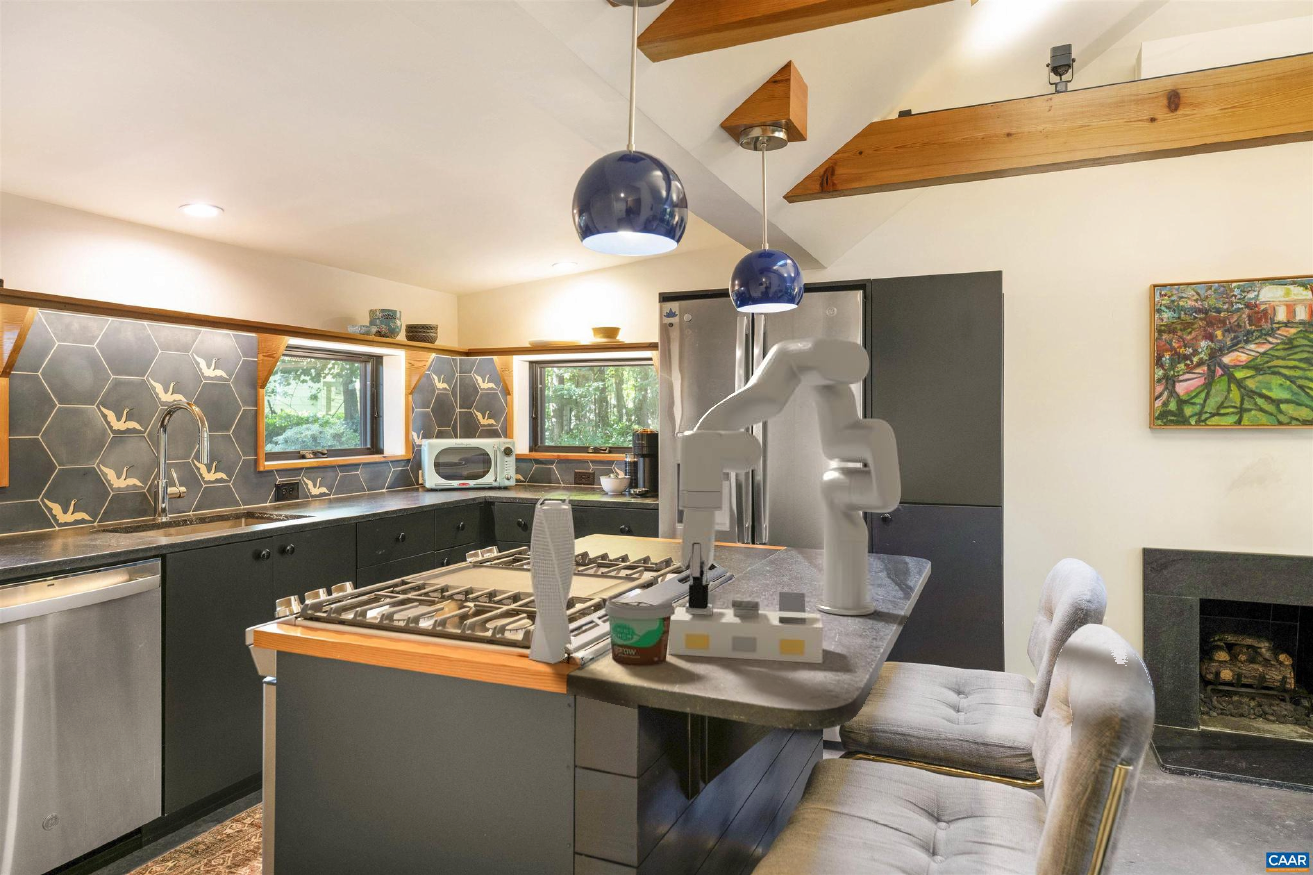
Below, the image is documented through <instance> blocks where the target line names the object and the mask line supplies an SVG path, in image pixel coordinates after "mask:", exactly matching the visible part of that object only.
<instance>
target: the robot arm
mask: <svg viewBox="0 0 1313 875" xmlns="http://www.w3.org/2000/svg"><path fill="white" fill-rule="evenodd" d="M869 358H870V357H869V355H868V352H867V350H866V349H865V347H864V346H862V345H861V344H860V343H858V342H855V341H850V340H843V339H837V338H832V337H831V338H830V337H823V336H821V337H820V336H817V337H804V338H797V339H796V338H795V339H788V340H782V341H780V342H778V343H776V344H774V345H773V346H772V347H771V349H769V351H768V353H767V354H766V356H764V359H762V362H761V363H760V365H758V368H757V369H756V371H755V372H754V373H753V375H752V376H751V377H750V379H749V380H748V382H747V383H746V384H745V385H744V387H742V388H741V389H738V390H737V391H735V392H734V393H732V394H731V395H729V396H728V397H726V398H725V399H723V400H722V401H721V402H718V404H715V406H713V407H712V408H710V409H709V410H708V411H707V412H706V413H705V414H704V415H703V416H702V418H701V419H700V420H699V421H698V423H697V425H696V426H695V428H694V429H692V430H687V431H684V432H683V433H682V434H681V437H680V449H679V451H680V454H679V491H678V492H679V493H678V494H679V495H678V497H679V498H678V510H681V511H684V512H683V518H682V519H683V520H682V533H681V534H682V535H681V550H680V551H681V552H680V567H681V568H683V569H685V568H687V566H688V565H689V584H688V599H689V608H699V609H706V608H707V606H708V593H709V583H708V581H709V580H708V579H709V576H708V575H709V568H710V567H711V565H712V564H713V561H714V553H715V538H716V537H715V536H716V512H721V511H723V497H724V496H723V490H724V488H723V487H724V473H734V474H737V473H739V474H741V473H746V472H750V471H752V470H753V469H755V468H757V466H758V465H759V464H760V462H761V460H762V456H763V448H762V444H761V442H760V440H759V439H758V438H757V436H755V435H754V434H752V433H751V432H748V431H745V430H744V431H743V429H746V428H748V427H751V426H755V425H758V424H761V423H763V422H767V421H768V420H770V419H772V418H775V417H777V416H779V415H780V414H781V413H782V412H783V410H784V409H785V407H786V406H787V404H788V402H789V401H790V399H791V398H792V396H793V395H794V393H795V391H796V390H797V388H798V387H799V385H802V386H803V387H804V389H806V390H807V391H808V392H809V394H810V395H811V397H812V398H813V401H814V403H815V407H816V408H815V409H816V413H817V422H818V429H819V430H818V431H819V439H820V445H821V450H822V453H823V455H824V457H825V458H826V459H827V460H829V461H831V462H837V463H847V464H849V463H851V464H852V463H853V464H854V463H855V464H867V466H868V467H860V466H859V467H858V466H838V467H832V468H830V469H828V470H826V471H825V472H824V473H822V476H821V478H820V481H819V495H820V501H821V505H822V512H823V581H822V582H823V587H822V589H823V593H822V594H823V595H822V596H823V597H822V599H819V600H818V601H816V603H815V608H816V609H817V610H819V611H821V612H824V613H828V614H833V615H842V616H864V615H871V614H873V613H874V612H875V611H876V610H875V608H876V607H875V605H874V604H872V603H871V602H868V568H869V566H868V562H869V561H868V560H869V559H868V558H869V557H868V555H869V553H868V552H869V551H868V550H869V531H868V526H867V524H866V522H865V520H864V518H863V517H862V515H861V513H860V512H868V513H891V512H893V511H894V510H896V509H897V508H898V506H899V504H900V501H901V495H902V484H901V474H900V465H899V454H898V447H897V440H896V436H895V432H894V430H893V428H892V426H891V425H890V424H889V423H888V422H887V421H886V420H883V419H880V418H861V417H860V416H859V413H858V407H857V406H858V405H857V400H856V395H855V393H854V391H853V389H852V387H851V385H855V384H856V385H857V384H858V383H861V382H863V380H865V378H866V377H867V375H868V373H869V370H870V359H869Z"/></svg>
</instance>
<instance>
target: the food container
mask: <svg viewBox="0 0 1313 875" xmlns="http://www.w3.org/2000/svg"><path fill="white" fill-rule="evenodd" d="M674 606H675V605H673V601H670V602H665V603H663V604H652V603H649V602H648V603H647V602H644V601H633V602H624V601H623V602H621V601H613V600H612V596H608V597H607V601H606V602H605V606H604V613H605V614H606V615H608V624H609V634H610V635H609V637H610V645H611V646H610V648H611V660H613V661H614V663H617V664H619V665H625V666H629V667H650V666H656V665H660V664H663V663H664V662H666V661H667V654H668V648H669V629H670V620H671V615H674V614H675V612H674V611H675V607H674Z"/></svg>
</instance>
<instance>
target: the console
mask: <svg viewBox="0 0 1313 875" xmlns="http://www.w3.org/2000/svg"><path fill="white" fill-rule="evenodd" d="M674 612H675V614H674V615H671V620H670V629H669V638H668V655H676V656H677V655H679V656H680V655H681V656H694V657H695V656H697V657H712V658H713V657H714V658H727V659H728V658H729V659H745V660H747V659H748V660H761V661H775V662H776V661H777V662H778V661H779V662H794V663H795V662H797V663H811V664H814V663H815V664H823V642H824V641H823V632H824V631H823V630H824V629H823V628H824V627H823V622H822V617H821V614H820V613H808V612H806V624H793V623H779V611H765V610H763V611H762V610H752V609H734V608H732V609H725V608H724V609H722V608H721V609H720V608H713V611H712V614H693V613H686V606H685V607H681V606H678V607H676V608H674Z"/></svg>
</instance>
